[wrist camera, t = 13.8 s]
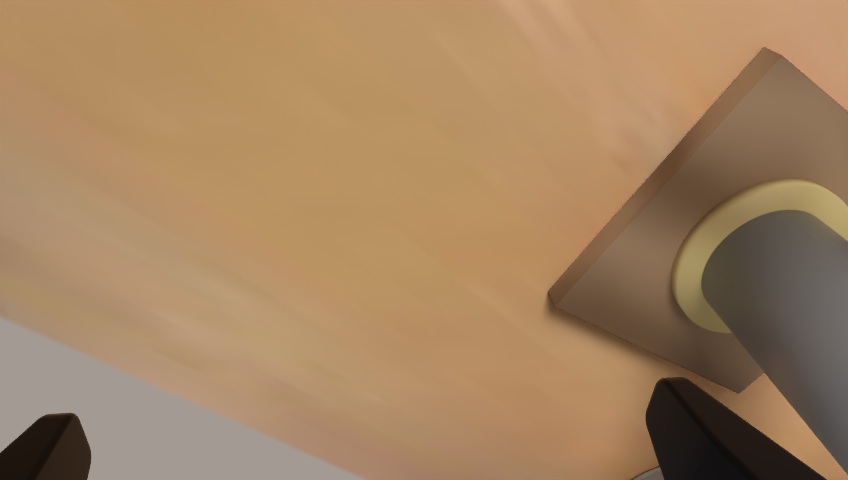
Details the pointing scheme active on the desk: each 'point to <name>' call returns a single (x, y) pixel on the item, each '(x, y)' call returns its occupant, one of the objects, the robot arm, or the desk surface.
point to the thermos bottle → (651, 475)
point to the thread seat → (712, 217)
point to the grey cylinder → (790, 312)
